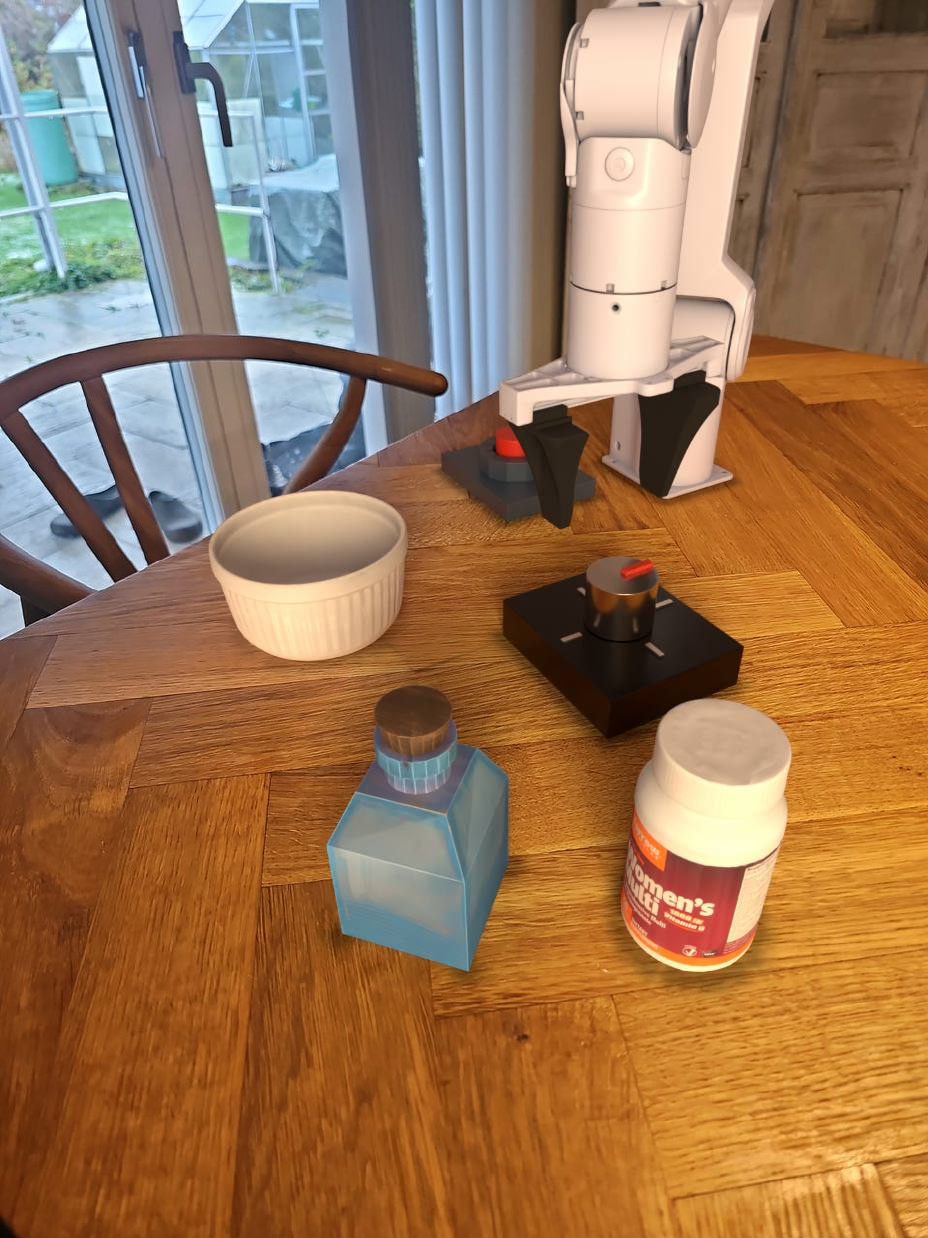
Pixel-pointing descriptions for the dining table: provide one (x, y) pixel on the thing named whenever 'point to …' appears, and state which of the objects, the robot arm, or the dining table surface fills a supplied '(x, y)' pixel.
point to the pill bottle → (705, 833)
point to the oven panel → (620, 656)
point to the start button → (507, 443)
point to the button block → (503, 480)
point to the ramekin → (312, 572)
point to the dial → (620, 598)
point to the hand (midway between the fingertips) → (606, 505)
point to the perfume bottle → (422, 835)
